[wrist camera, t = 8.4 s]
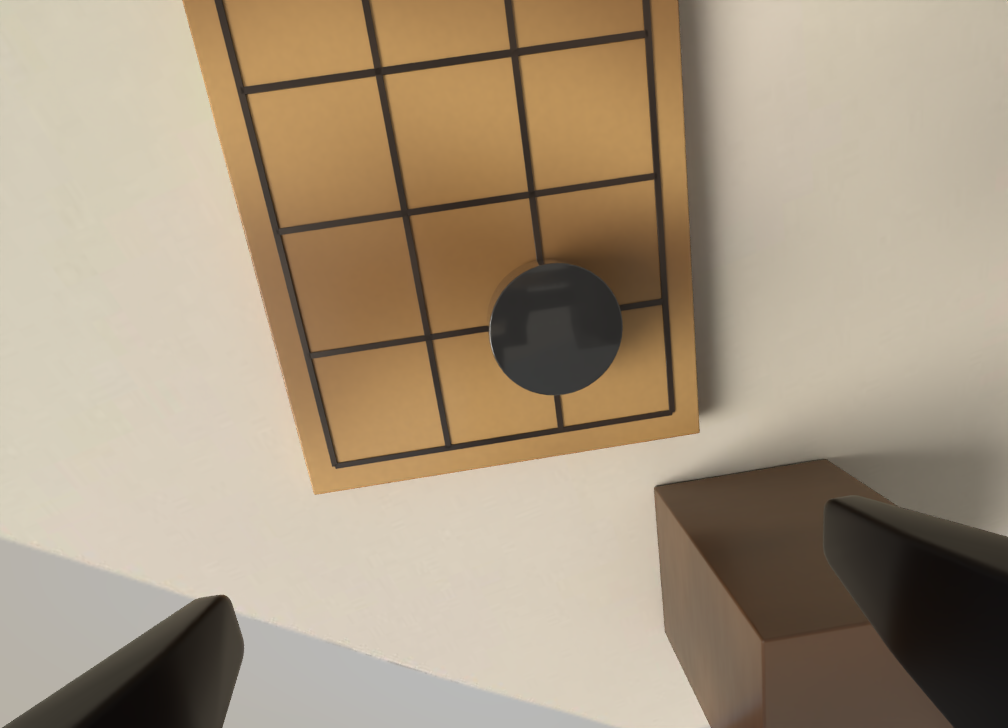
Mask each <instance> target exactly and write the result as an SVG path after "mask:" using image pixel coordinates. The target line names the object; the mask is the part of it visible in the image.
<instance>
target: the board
mask: <svg viewBox="0 0 1008 728" xmlns="http://www.w3.org/2000/svg"><path fill="white" fill-rule="evenodd" d="M183 4H184V8H185V12H186V15H187V19H188V23H189V27H190V30H191V34H192V38H193V42H194V45H195V49H196V53H197V57H198V60H199V64H200V68H201V72H202V75H203V79H204V83H205V87H206V90H207V94H208V98H209V102H210V105H211V109H212V113H213V117H214V120H215V124H216V128H217V132H218V135H219V139H220V143H221V147H222V151H223V154H224V158H225V162H226V166H227V169H228V173H229V177H230V181H231V184H232V188H233V192H234V196H235V199H236V203H237V207H238V211H239V214H240V218H241V222H242V226H243V229H244V233H245V237H246V241H247V244H248V248H249V252H250V256H251V259H252V263H253V267H254V271H255V274H256V278H257V282H258V286H259V289H260V293H261V297H262V301H263V304H264V308H265V312H266V316H267V319H268V323H269V327H270V331H271V334H272V338H273V342H274V346H275V349H276V353H277V357H278V361H279V364H280V368H281V372H282V376H283V379H284V383H285V387H286V391H287V394H288V398H289V402H290V406H291V409H292V413H293V417H294V421H295V424H296V428H297V432H298V436H299V439H300V443H301V447H302V451H303V454H304V458H305V462H306V466H307V469H308V473H309V477H310V481H311V484H312V488H313V492H314V494H315V495H316V494H323V493H329V492H335V491H341V490H348V489H354V488H360V487H366V486H372V485H379V484H385V483H391V482H397V481H403V480H410V479H416V478H422V477H428V476H435V475H441V474H447V473H453V472H459V471H466V470H472V469H478V468H484V467H491V466H497V465H503V464H509V463H515V462H522V461H528V460H534V459H540V458H546V457H553V456H559V455H565V454H571V453H578V452H584V451H590V450H596V449H602V448H609V447H615V446H621V445H627V444H634V443H640V442H646V441H652V440H658V439H665V438H671V437H677V436H683V435H689V434H696V433H699V432H700V429H699V409H698V388H697V368H696V348H695V327H694V307H693V287H692V267H691V246H690V226H689V206H688V186H687V165H686V145H685V125H684V104H683V84H682V64H681V44H680V23H679V3H678V0H183ZM539 259H558V260H564V261H567V262H570V263H572V264H575V265H578V266H581V267H583V268H585V269H587V270H589V271H591V272H593V273H594V274H596V275H597V276H599V277H600V278H601V279H602V280H603V281H604V282H605V283H606V284H607V285H608V286H609V287H610V289H611V290H612V292H613V293H614V295H615V297H616V299H617V301H618V303H619V306H620V310H621V313H622V320H623V332H622V340H621V344H620V347H619V350H618V353H617V355H616V357H615V359H614V361H613V362H612V364H611V365H610V367H609V368H608V369H607V371H606V372H605V373H604V374H603V375H602V376H601V377H600V378H599V379H597V380H596V381H595V382H593V383H592V384H590V385H589V386H587V387H585V388H583V389H581V390H579V391H576V392H573V393H569V394H565V395H556V396H555V395H542V394H537V393H534V392H530V391H528V390H526V389H524V388H522V387H520V386H519V385H517V384H515V383H514V382H513V381H512V380H510V379H509V378H508V377H507V376H506V375H505V374H504V373H503V371H502V370H501V368H500V367H499V366H498V364H497V362H496V360H495V358H494V356H493V353H492V350H491V346H490V341H489V335H488V330H487V312H488V306H489V303H490V300H491V297H492V295H493V293H494V291H495V289H496V288H497V286H498V284H499V283H500V282H501V281H502V280H503V278H504V277H505V276H507V275H508V274H509V273H510V272H511V271H513V270H514V269H516V268H517V267H519V266H521V265H523V264H525V263H528V262H530V261H534V260H539Z"/></svg>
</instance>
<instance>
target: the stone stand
mask: <svg viewBox="0 0 1008 728" xmlns="http://www.w3.org/2000/svg"><path fill="white" fill-rule="evenodd" d="M654 494H655V508H656V521H657V534H658V547H659V560H660V573H661V586H662V599H663V612H664V626H665V633H666V635H667V637H668V639H669V641H670V643H671V645H672V648H673V650H674V652H675V654H676V656H677V658H678V660H679V662H680V664H681V666H682V668H683V670H684V672H685V675H686V677H687V679H688V681H689V683H690V685H691V687H692V689H693V691H694V693H695V695H696V697H697V699H698V702H699V704H700V706H701V708H702V710H703V712H704V714H705V716H706V718H707V720H708V722H709V724H710V727H711V728H954V727H953V726H952V725H951V724H950V723H949V721H948V720H947V719H946V718H945V717H944V715H943V714H942V713H941V712H940V711H939V710H938V708H937V707H936V706H935V705H934V704H933V702H932V701H931V700H930V699H929V698H928V697H927V695H926V694H925V693H924V692H923V691H922V689H921V688H920V687H919V686H918V685H917V683H916V682H915V681H914V680H913V679H912V678H911V676H910V675H909V674H908V673H907V671H906V670H905V669H904V668H903V667H902V665H901V664H900V663H899V662H898V660H897V659H896V658H895V657H894V655H893V654H892V653H891V651H890V650H889V649H888V647H887V646H886V645H885V643H884V642H883V640H882V639H881V638H880V636H879V635H878V633H877V632H876V631H875V629H874V628H873V626H872V625H871V623H870V622H869V621H868V619H867V618H866V616H865V615H864V614H863V612H862V611H861V609H860V608H859V606H858V605H857V604H856V602H855V601H854V599H853V598H852V596H851V595H850V594H849V592H848V591H847V589H846V588H845V587H844V585H843V584H842V582H841V581H840V579H839V578H838V577H837V575H836V574H835V572H834V571H833V570H832V568H831V567H830V565H829V564H828V562H827V560H826V558H825V555H824V551H823V511H824V505H825V503H826V502H827V501H828V500H829V499H832V498H837V497H844V496H850V495H857V496H861V497H865V498H868V499H872V500H876V501H879V502H883V503H886V504H890V505H894V506H897V505H895V504H894V503H892V502H891V501H889V500H888V499H886V498H885V497H883V496H882V495H880V494H878V493H877V492H875V491H874V490H872V489H871V488H869V487H868V486H866V485H865V484H863V483H862V482H860V481H859V480H857V479H856V478H854V477H853V476H851V475H849V474H848V473H846V472H845V471H843V470H842V469H840V468H839V467H837V466H836V465H834V464H833V463H831V462H830V461H828V460H826V459H822V460H816V461H810V462H804V463H798V464H792V465H786V466H780V467H773V468H767V469H761V470H755V471H749V472H743V473H737V474H730V475H724V476H718V477H712V478H706V479H700V480H694V481H687V482H681V483H675V484H669V485H663V486H657V487H654ZM897 507H898V506H897Z"/></svg>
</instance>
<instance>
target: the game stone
mask: <svg viewBox="0 0 1008 728" xmlns="http://www.w3.org/2000/svg"><path fill="white" fill-rule="evenodd" d="M487 330H488V335H489V341H490V346H491V350H492V353H493V356H494V358H495V360H496V362H497V364H498V366H499V367H500V368H501V370H502V371H503V373H504V374H505V375H506V376H507V377H508V378H509V379H510V380H512V381H513V382H514V383H515V384H517V385H519V386H520V387H522V388H524V389H526V390H528V391H530V392H534V393H537V394H542V395H555V396H556V395H565V394H569V393H573V392H576V391H579V390H581V389H583V388H585V387H587V386H589V385H590V384H592V383H593V382H595V381H596V380H597V379H599V378H600V377H601V376H602V375H603V374H604V373H605V372H606V371H607V369H608V368H609V367H610V365H611V364H612V362H613V361H614V359H615V357H616V355H617V353H618V350H619V347H620V344H621V340H622V332H623V320H622V313H621V310H620V306H619V303H618V301H617V299H616V297H615V295H614V293H613V292H612V290H611V289H610V287H609V286H608V285H607V284H606V283H605V282H604V281H603V280H602V279H601V278H600V277H599V276H597V275H596V274H594V273H593V272H591V271H589V270H587V269H585V268H583V267H581V266H578V265H575V264H572V263H570V262H567V261H564V260H558V259H539V260H534V261H530V262H528V263H525V264H523V265H521V266H519V267H517V268H516V269H514V270H513V271H511V272H510V273H509V274H508V275H507V276H505V277H504V278H503V280H502V281H501V282H500V283H499V284H498V286H497V288H496V289H495V291H494V293H493V295H492V297H491V300H490V303H489V306H488V312H487Z"/></svg>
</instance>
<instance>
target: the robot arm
mask: <svg viewBox="0 0 1008 728" xmlns="http://www.w3.org/2000/svg"><path fill="white" fill-rule="evenodd" d="M823 551H824V555H825V558H826V560H827V562H828V564H829V565H830V567H831V568H832V570H833V571H834V572H835V574H836V575H837V577H838V578H839V579H840V581H841V582H842V584H843V585H844V587H845V588H846V589H847V591H848V592H849V594H850V595H851V596H852V598H853V599H854V601H855V602H856V604H857V605H858V606H859V608H860V609H861V611H862V612H863V614H864V615H865V616H866V618H867V619H868V621H869V622H870V623H871V625H872V626H873V628H874V629H875V631H876V632H877V633H878V635H879V636H880V638H881V639H882V640H883V642H884V643H885V645H886V646H887V647H888V649H889V650H890V651H891V653H892V654H893V655H894V657H895V658H896V659H897V660H898V662H899V663H900V664H901V665H902V667H903V668H904V669H905V670H906V671H907V673H908V674H909V675H910V676H911V678H912V679H913V680H914V681H915V682H916V683H917V685H918V686H919V687H920V688H921V689H922V691H923V692H924V693H925V694H926V695H927V697H928V698H929V699H930V700H931V701H932V702H933V704H934V705H935V706H936V707H937V708H938V710H939V711H940V712H941V713H942V714H943V715H944V717H945V718H946V719H947V720H948V721H949V723H950V724H951V725H952V726H953V727H954V728H1008V537H1007V536H1003V535H999V534H996V533H992V532H988V531H985V530H981V529H977V528H974V527H970V526H967V525H963V524H959V523H956V522H952V521H948V520H945V519H941V518H937V517H934V516H930V515H927V514H923V513H919V512H916V511H912V510H908V509H905V508H901V507H897V506H894V505H890V504H886V503H883V502H879V501H876V500H872V499H868V498H865V497H861V496H857V495H850V496H844V497H837V498H832V499H829V500H828V501H827V502H826V503H825V505H824V511H823ZM243 654H244V641H243V637H242V634H241V631H240V627H239V624H238V621H237V618H236V615H235V611H234V608H233V605H232V603H231V600H230V599H229V598H228V597H227V596H225V595H216V596H209V597H203V598H198V599H195V600H193V601H192V602H191V603H189V604H187V605H186V606H184V607H183V608H181V609H180V610H179V611H177V612H175V613H174V614H172V615H171V616H169V617H168V618H166V619H165V620H163V621H162V622H160V623H159V624H157V625H156V626H154V627H153V628H152V629H150V630H148V631H147V632H145V633H144V634H142V635H141V636H139V637H138V638H136V639H135V640H133V641H132V642H130V643H129V644H127V645H126V646H124V647H123V648H121V649H120V650H118V651H117V652H115V653H114V654H112V655H111V656H109V657H108V658H106V659H105V660H103V661H102V662H100V663H99V664H97V665H96V666H94V667H93V668H91V669H90V670H88V671H87V672H85V673H84V674H82V675H81V676H79V677H78V678H76V679H75V680H73V681H72V682H70V683H69V684H67V685H66V686H64V687H63V688H61V689H60V690H58V691H57V692H55V693H54V694H52V695H51V696H49V697H48V698H46V699H45V700H43V701H42V702H40V703H39V704H37V705H36V706H34V707H33V708H31V709H30V710H28V711H27V712H25V713H24V714H22V715H21V716H19V717H17V718H16V719H14V720H13V721H11V722H10V723H8V724H7V725H6V726H4V727H2V728H222V727H223V723H224V720H225V717H226V713H227V710H228V706H229V703H230V700H231V696H232V693H233V689H234V686H235V683H236V680H237V676H238V673H239V670H240V666H241V663H242V659H243Z"/></svg>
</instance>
